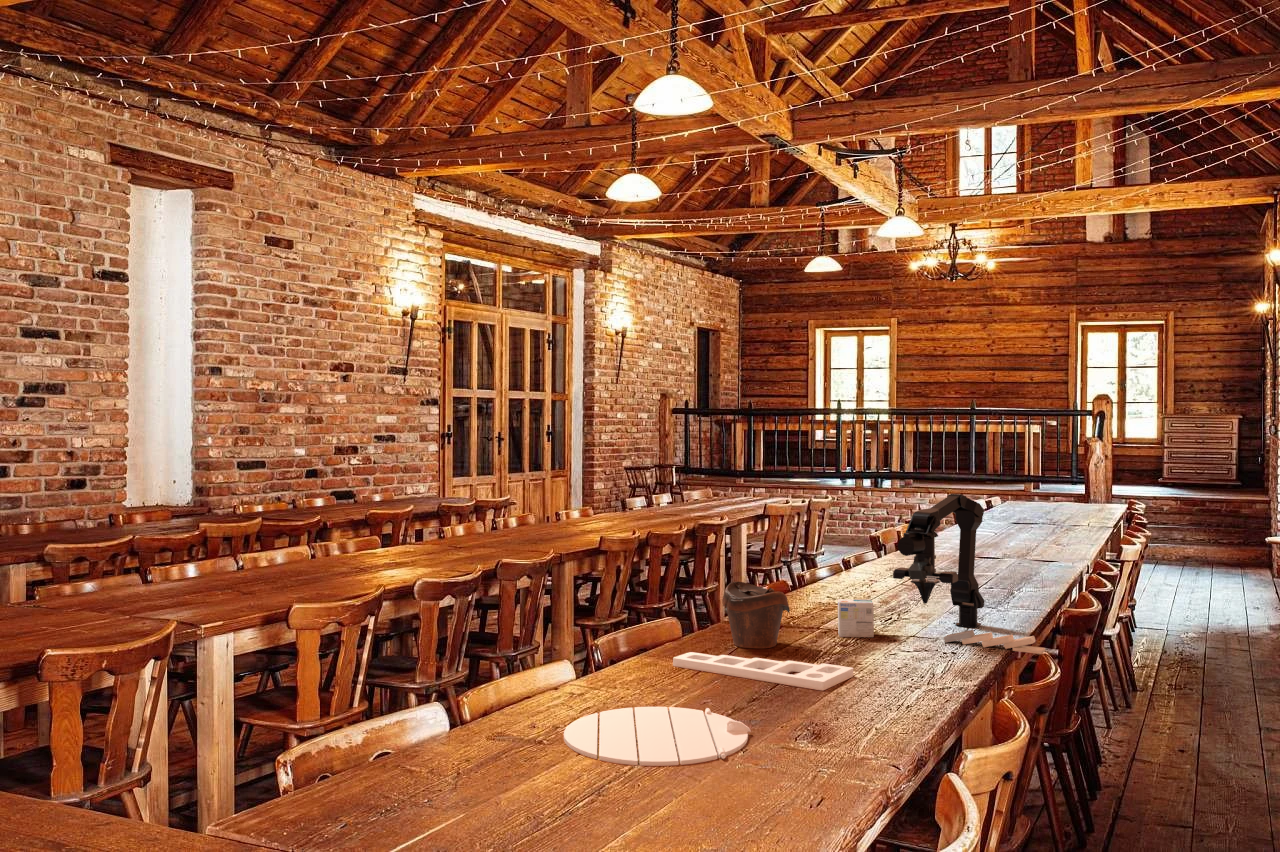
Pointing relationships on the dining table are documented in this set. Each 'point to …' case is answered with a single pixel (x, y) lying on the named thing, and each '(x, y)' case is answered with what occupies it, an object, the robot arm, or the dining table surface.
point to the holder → (768, 670)
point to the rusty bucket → (754, 614)
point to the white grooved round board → (656, 736)
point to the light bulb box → (855, 618)
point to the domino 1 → (959, 636)
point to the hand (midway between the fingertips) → (925, 603)
